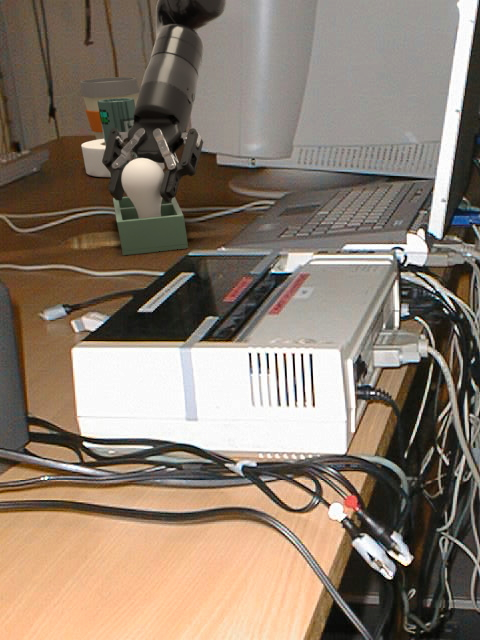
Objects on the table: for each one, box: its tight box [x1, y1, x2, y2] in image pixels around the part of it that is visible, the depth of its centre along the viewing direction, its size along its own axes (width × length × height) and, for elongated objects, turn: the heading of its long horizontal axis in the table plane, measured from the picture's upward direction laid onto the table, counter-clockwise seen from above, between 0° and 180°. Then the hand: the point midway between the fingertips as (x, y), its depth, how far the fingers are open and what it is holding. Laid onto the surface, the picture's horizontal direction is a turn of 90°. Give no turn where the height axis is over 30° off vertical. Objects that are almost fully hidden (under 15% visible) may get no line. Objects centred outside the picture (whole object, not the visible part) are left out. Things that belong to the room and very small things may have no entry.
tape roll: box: [80, 139, 166, 178], centre depth 184 cm, size 16×16×6 cm
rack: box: [112, 196, 189, 256], centre depth 133 cm, size 17×9×5 cm, turn 16°
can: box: [97, 98, 137, 176], centre depth 165 cm, size 6×6×15 cm
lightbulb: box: [121, 158, 165, 219], centre depth 128 cm, size 6×6×11 cm
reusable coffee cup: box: [79, 76, 140, 140], centre depth 202 cm, size 13×13×15 cm
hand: (140, 197), depth 127 cm, fingers open, 7 cm apart
